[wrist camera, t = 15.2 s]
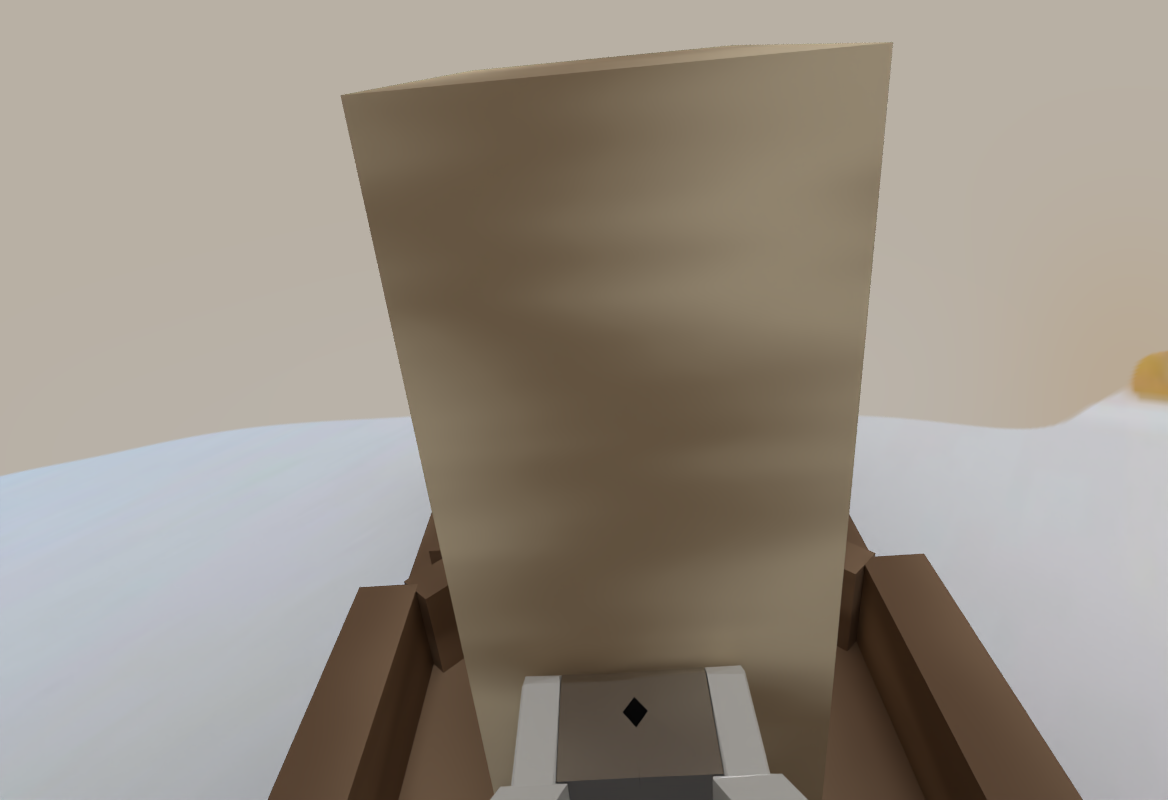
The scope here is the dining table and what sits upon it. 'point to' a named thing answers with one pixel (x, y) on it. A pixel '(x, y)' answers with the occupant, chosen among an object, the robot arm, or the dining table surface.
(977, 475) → the dining table surface
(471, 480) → the panel block
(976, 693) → the channel
